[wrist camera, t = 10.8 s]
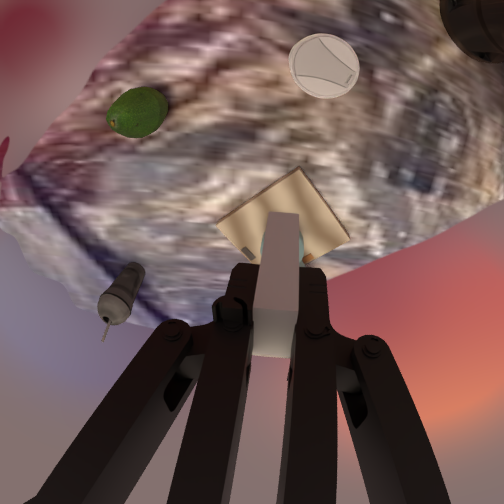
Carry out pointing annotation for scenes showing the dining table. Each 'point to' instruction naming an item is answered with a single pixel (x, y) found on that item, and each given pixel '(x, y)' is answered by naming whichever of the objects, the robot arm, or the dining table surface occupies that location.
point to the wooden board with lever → (288, 201)
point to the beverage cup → (120, 296)
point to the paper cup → (324, 65)
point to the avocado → (137, 112)
